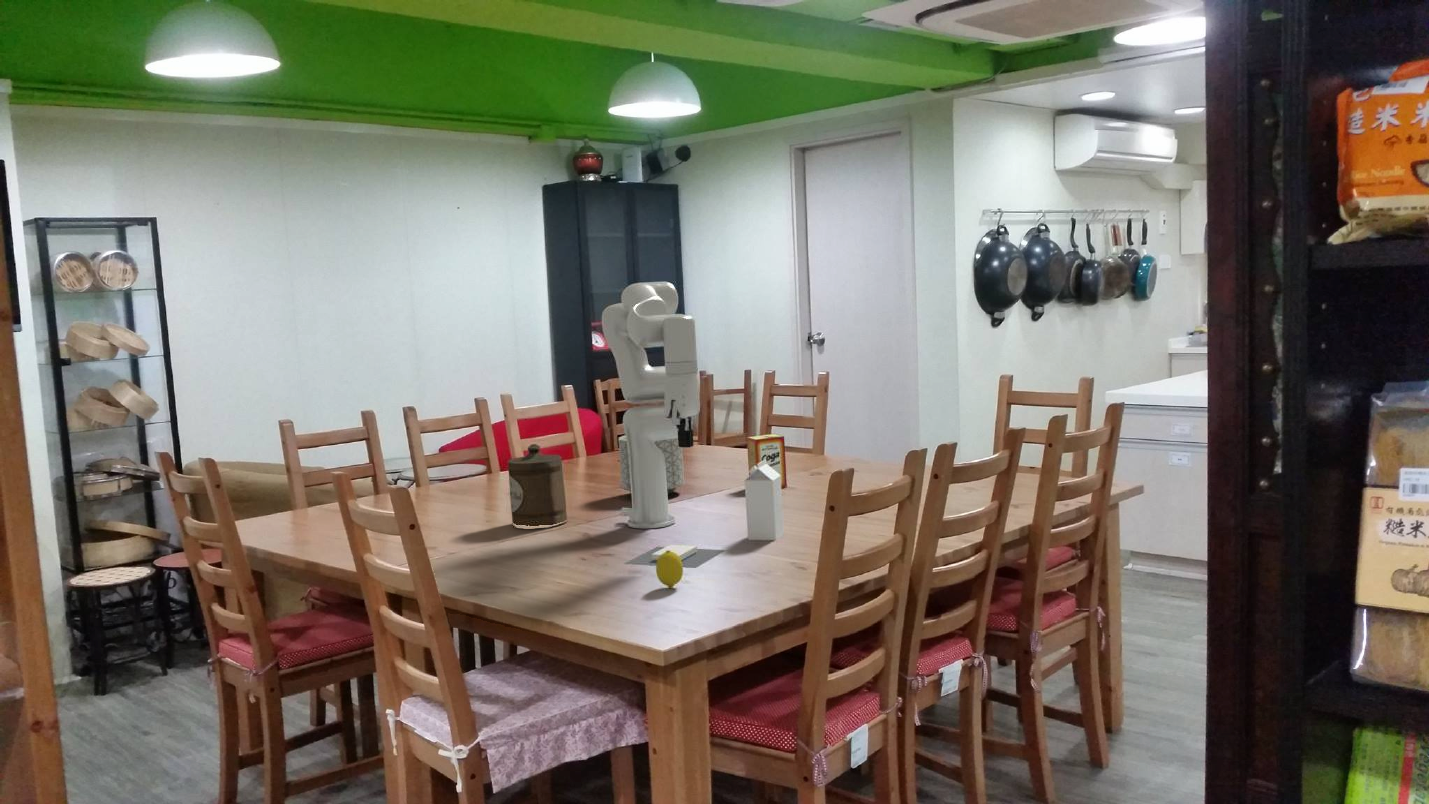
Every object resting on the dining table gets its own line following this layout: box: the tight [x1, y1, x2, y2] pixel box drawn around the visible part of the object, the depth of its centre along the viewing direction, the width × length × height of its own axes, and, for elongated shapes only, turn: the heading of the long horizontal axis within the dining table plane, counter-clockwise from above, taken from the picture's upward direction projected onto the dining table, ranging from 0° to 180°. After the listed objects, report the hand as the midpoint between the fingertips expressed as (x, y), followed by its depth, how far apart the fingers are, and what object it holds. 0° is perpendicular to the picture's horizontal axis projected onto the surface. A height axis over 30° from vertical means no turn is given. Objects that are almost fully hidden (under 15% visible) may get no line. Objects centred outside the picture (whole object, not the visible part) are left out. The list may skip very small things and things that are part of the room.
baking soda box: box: [746, 433, 788, 489], centre depth 332 cm, size 10×6×16 cm
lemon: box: [655, 550, 684, 589], centre depth 226 cm, size 6×6×8 cm
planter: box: [617, 435, 685, 496], centre depth 331 cm, size 19×19×18 cm
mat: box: [623, 546, 727, 569], centre depth 251 cm, size 18×16×1 cm
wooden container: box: [507, 443, 568, 526], centre depth 299 cm, size 15×15×22 cm
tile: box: [652, 544, 698, 561], centre depth 250 cm, size 7×2×9 cm
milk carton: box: [744, 459, 785, 541], centre depth 265 cm, size 7×7×19 cm
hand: (686, 446), depth 256 cm, fingers closed
